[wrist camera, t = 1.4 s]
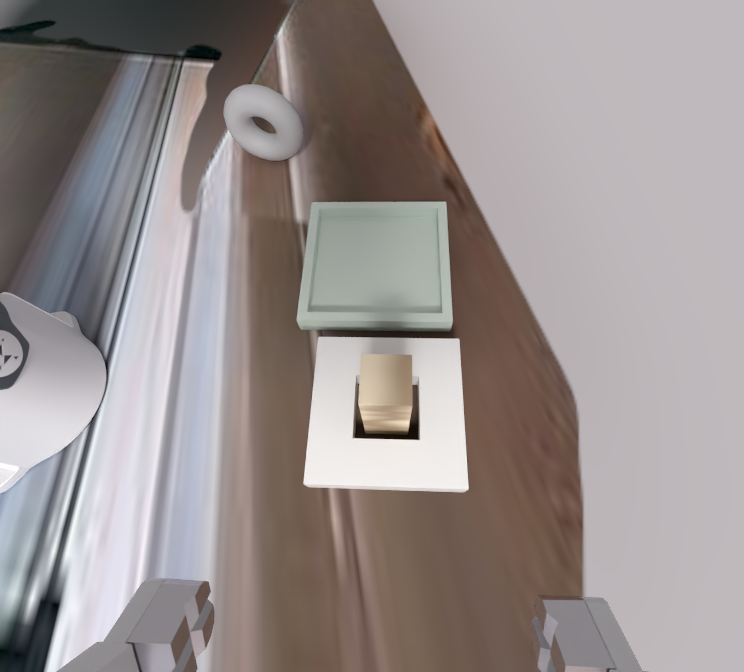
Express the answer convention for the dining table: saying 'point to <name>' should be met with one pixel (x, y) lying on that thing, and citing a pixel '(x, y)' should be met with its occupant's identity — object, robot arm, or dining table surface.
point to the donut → (271, 108)
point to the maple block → (385, 393)
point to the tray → (376, 267)
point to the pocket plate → (387, 456)
